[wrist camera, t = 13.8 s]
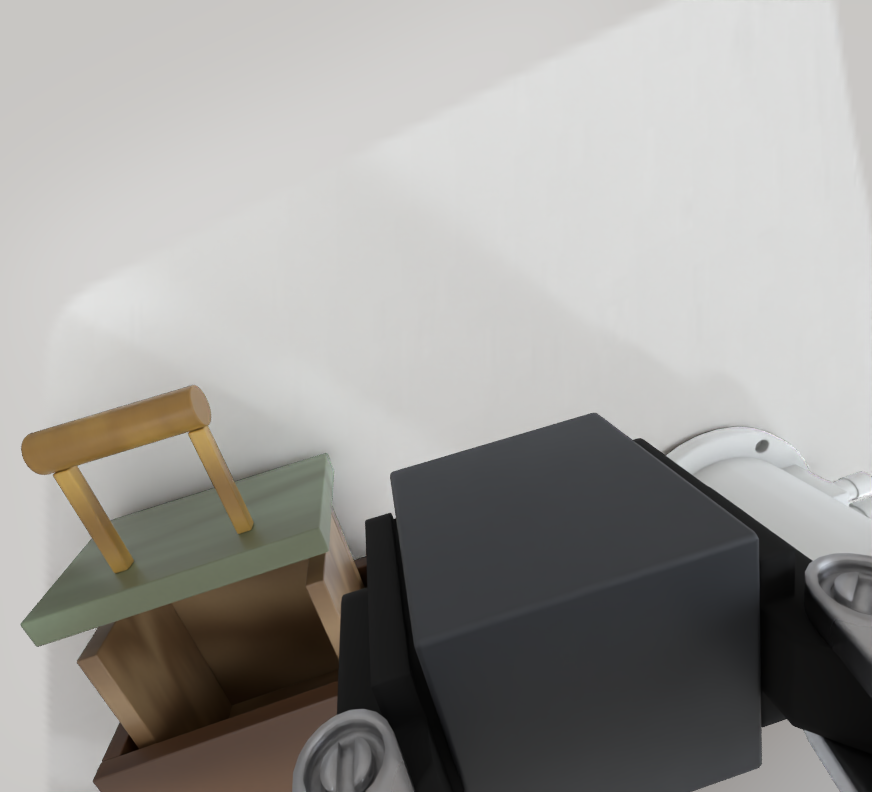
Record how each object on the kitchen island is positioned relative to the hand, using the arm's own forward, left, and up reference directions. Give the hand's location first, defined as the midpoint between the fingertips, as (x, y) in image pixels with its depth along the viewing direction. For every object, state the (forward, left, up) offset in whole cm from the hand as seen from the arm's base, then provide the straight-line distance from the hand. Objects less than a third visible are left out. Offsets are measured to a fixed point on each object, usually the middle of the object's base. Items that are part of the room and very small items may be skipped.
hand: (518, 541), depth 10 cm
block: (0, 0, 0) cm, 0 cm away
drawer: (+12, +7, -15) cm, 20 cm away
